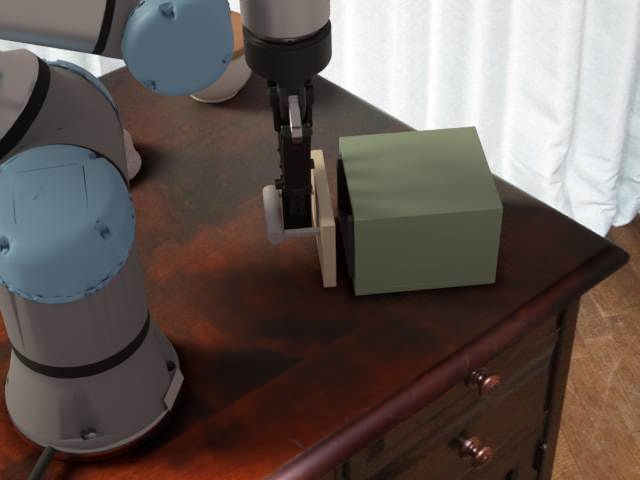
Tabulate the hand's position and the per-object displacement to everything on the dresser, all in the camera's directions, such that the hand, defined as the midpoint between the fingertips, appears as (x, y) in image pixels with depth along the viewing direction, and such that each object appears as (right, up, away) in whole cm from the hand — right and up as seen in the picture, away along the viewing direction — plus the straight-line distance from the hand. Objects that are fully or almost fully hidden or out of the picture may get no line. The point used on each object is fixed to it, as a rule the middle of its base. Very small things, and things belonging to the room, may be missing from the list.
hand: (297, 229), depth 112 cm
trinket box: (-10, +17, +24) cm, 32 cm away
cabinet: (+12, -2, +3) cm, 12 cm away
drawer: (+6, -1, +2) cm, 6 cm away
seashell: (-22, +7, +14) cm, 27 cm away
